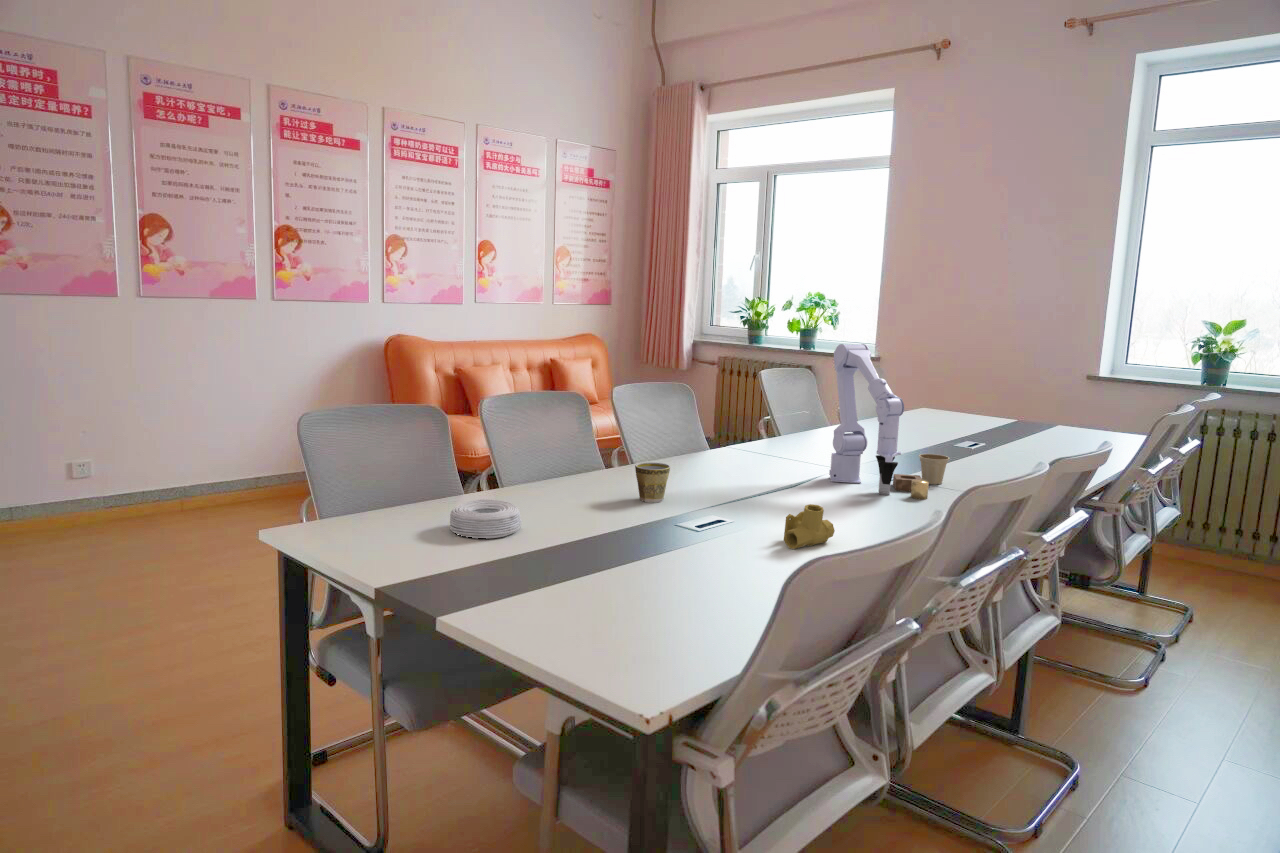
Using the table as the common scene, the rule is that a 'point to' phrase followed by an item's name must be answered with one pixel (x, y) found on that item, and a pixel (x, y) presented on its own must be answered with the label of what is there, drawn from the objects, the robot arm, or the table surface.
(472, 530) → the cable
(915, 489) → the round bit
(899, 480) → the block
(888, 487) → the square bit
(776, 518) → the table surface
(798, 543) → the tan pipe tee fitting
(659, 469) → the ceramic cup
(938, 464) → the flower pot
